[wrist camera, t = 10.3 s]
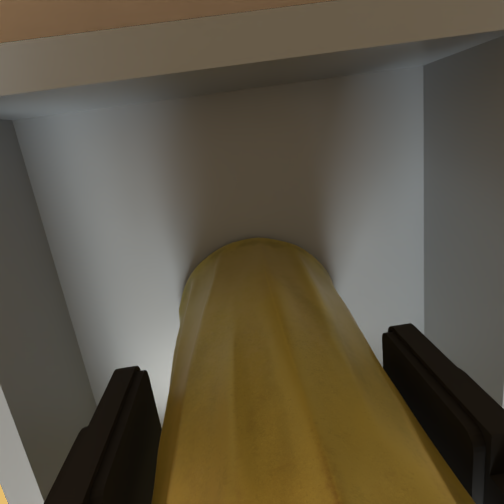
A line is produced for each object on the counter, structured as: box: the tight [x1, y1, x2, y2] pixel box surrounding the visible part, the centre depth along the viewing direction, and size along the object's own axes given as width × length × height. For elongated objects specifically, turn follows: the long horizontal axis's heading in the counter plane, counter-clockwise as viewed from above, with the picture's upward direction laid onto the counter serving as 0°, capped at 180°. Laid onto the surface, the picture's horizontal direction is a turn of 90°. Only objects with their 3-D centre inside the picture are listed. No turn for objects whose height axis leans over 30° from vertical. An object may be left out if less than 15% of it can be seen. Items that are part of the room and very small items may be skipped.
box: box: [0, 0, 504, 504], centre depth 13 cm, size 16×18×6 cm
